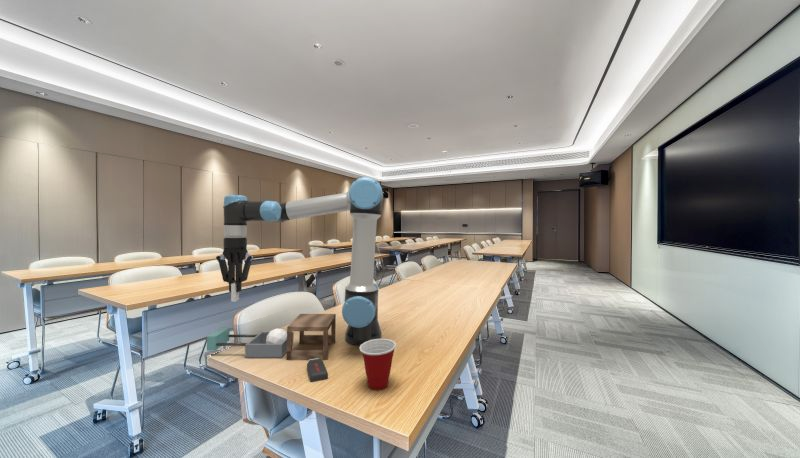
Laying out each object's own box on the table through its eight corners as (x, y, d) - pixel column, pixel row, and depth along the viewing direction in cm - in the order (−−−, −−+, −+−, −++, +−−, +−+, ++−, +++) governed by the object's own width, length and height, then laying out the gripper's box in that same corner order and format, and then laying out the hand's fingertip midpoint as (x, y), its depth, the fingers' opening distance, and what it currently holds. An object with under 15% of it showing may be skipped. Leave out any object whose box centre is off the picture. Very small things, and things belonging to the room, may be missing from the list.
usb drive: (310, 384, 85) (310, 374, 85) (305, 366, 96) (305, 358, 96) (328, 380, 87) (328, 371, 87) (321, 363, 98) (321, 355, 98)
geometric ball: (278, 353, 110) (287, 333, 115) (285, 353, 105) (294, 331, 109) (259, 347, 107) (269, 326, 112) (265, 346, 102) (275, 324, 106)
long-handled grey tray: (293, 343, 113) (293, 326, 113) (281, 357, 101) (281, 338, 101) (224, 343, 112) (224, 326, 112) (203, 357, 100) (203, 338, 100)
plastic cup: (359, 375, 90) (360, 337, 90) (394, 375, 90) (394, 337, 90) (357, 396, 79) (358, 352, 79) (396, 394, 80) (397, 351, 80)
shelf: (335, 342, 115) (335, 313, 115) (327, 359, 100) (327, 327, 100) (300, 342, 115) (300, 313, 115) (286, 360, 99) (287, 326, 99)
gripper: (257, 236, 110) (257, 298, 110) (223, 236, 110) (222, 298, 110) (248, 237, 103) (248, 303, 103) (211, 237, 102) (210, 303, 102)
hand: (235, 300), depth 106 cm, fingers closed
